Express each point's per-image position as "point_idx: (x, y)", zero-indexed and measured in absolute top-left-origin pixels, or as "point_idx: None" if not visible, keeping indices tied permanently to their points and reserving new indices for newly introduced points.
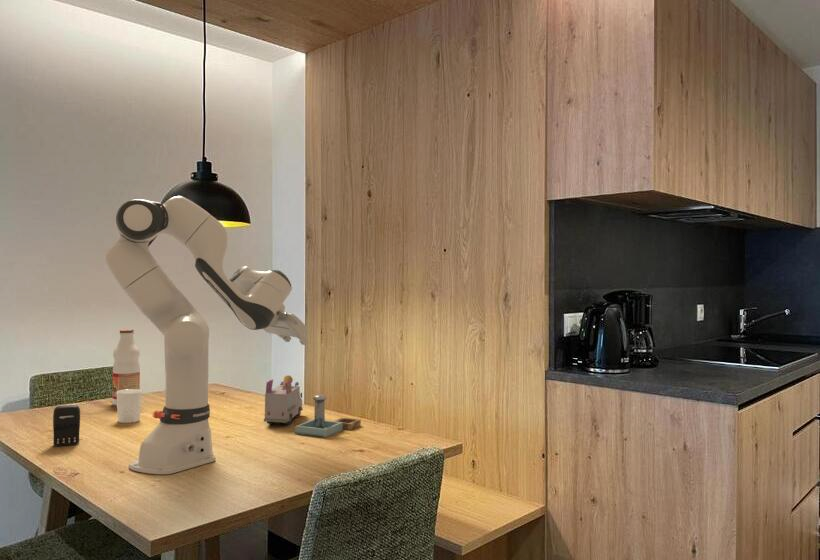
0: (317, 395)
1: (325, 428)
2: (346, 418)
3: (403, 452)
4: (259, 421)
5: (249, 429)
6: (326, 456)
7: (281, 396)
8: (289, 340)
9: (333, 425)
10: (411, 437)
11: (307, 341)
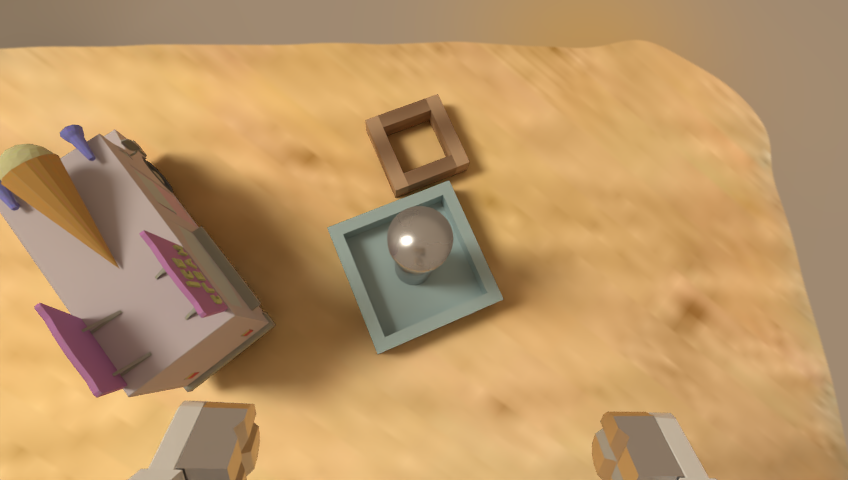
0: (406, 242)
1: None
2: (388, 118)
3: (779, 227)
4: None
5: None
6: None
7: (214, 335)
8: (252, 427)
9: (465, 236)
10: (657, 91)
11: (667, 422)
